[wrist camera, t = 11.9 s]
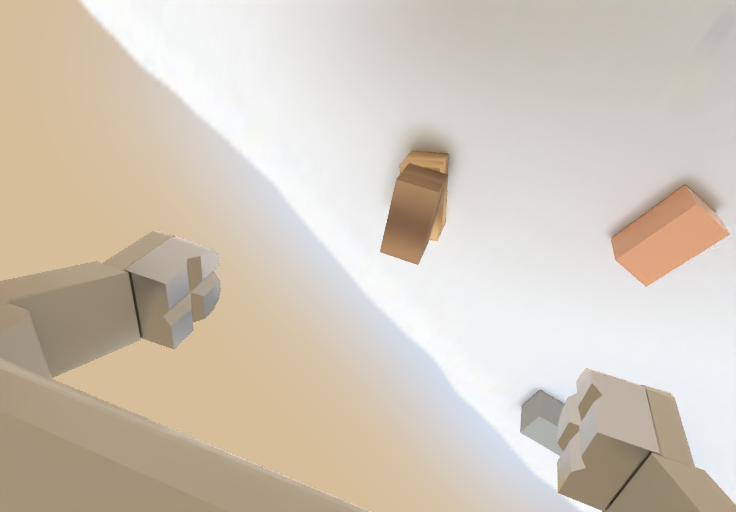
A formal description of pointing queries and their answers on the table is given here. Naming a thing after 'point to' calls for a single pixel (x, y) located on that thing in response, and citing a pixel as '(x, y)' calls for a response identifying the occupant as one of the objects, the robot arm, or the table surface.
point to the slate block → (542, 420)
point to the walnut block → (413, 212)
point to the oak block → (437, 164)
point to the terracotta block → (667, 236)
